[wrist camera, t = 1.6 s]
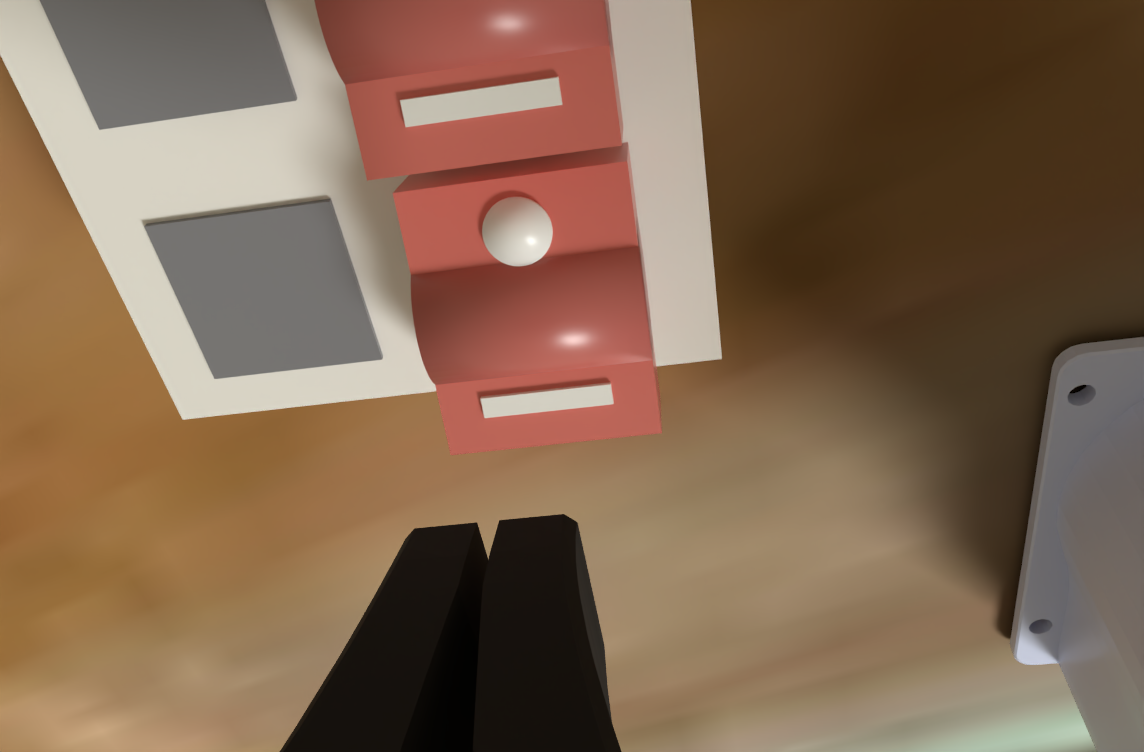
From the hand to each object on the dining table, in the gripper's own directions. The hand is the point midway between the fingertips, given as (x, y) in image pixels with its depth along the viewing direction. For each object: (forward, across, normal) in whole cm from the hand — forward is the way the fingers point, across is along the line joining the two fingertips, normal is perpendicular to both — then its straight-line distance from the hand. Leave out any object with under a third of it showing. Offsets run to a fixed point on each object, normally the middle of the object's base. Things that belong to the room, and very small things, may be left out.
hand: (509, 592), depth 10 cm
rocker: (+5, 0, 0) cm, 5 cm away
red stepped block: (+5, 0, -4) cm, 7 cm away
